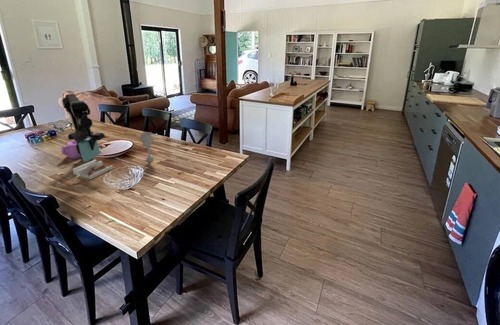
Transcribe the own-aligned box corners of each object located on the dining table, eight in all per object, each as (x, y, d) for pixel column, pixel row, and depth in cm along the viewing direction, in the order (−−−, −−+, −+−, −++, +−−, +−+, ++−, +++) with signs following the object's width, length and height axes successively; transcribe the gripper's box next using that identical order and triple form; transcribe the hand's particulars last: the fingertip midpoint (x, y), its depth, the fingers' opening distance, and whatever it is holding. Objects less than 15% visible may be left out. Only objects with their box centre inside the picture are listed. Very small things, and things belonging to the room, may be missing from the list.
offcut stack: (88, 175, 155) (86, 169, 154) (103, 168, 163) (101, 163, 162) (94, 176, 153) (92, 170, 152) (108, 169, 162) (107, 164, 160)
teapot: (98, 152, 191) (95, 137, 186) (70, 162, 175) (65, 146, 170) (87, 149, 197) (83, 134, 192) (58, 158, 181) (53, 143, 176)
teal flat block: (82, 161, 155) (77, 143, 151) (95, 153, 166) (91, 136, 162) (87, 161, 155) (83, 143, 151) (100, 153, 166) (96, 136, 161)
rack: (74, 176, 156) (72, 169, 154) (96, 166, 169) (95, 159, 167) (91, 180, 151) (89, 173, 150) (113, 169, 164) (111, 163, 162)
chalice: (143, 162, 174) (139, 135, 167) (144, 158, 180) (140, 132, 173) (155, 161, 176) (151, 134, 168) (156, 157, 182) (152, 131, 174)
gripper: (57, 128, 146) (65, 154, 152) (90, 128, 144) (97, 155, 151) (71, 122, 156) (78, 147, 162) (102, 123, 155) (108, 148, 161)
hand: (90, 150), depth 159 cm, fingers closed on teal flat block, 3 cm apart
